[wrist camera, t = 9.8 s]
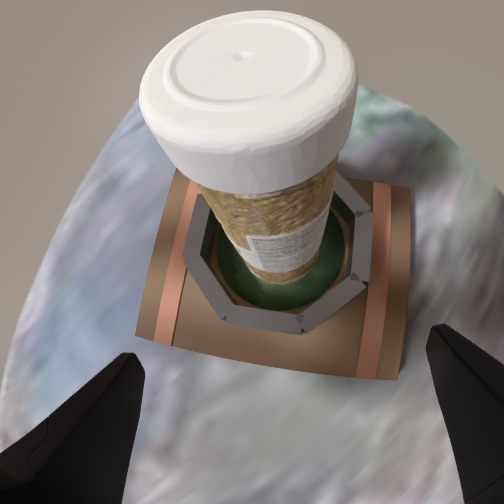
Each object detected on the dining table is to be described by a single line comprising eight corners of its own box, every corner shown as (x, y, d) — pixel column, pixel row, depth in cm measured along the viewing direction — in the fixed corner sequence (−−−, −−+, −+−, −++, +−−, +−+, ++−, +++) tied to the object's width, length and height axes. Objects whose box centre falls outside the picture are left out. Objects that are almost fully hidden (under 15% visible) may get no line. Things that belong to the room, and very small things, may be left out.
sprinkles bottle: (236, 222, 19) (137, 36, 6) (309, 204, 18) (313, -6, 5) (251, 295, 17) (127, 177, 4) (329, 276, 17) (406, 113, 4)
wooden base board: (391, 378, 16) (397, 380, 15) (142, 336, 19) (134, 335, 18) (405, 195, 19) (410, 187, 18) (182, 171, 21) (176, 163, 20)
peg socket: (354, 342, 16) (361, 342, 14) (183, 314, 18) (170, 312, 16) (367, 181, 18) (373, 165, 16) (217, 166, 20) (209, 149, 18)
